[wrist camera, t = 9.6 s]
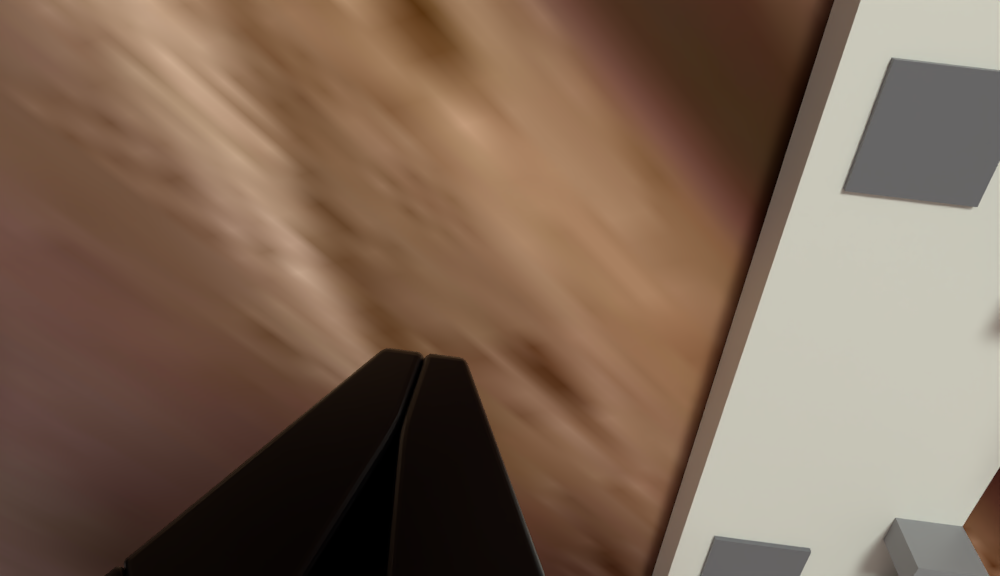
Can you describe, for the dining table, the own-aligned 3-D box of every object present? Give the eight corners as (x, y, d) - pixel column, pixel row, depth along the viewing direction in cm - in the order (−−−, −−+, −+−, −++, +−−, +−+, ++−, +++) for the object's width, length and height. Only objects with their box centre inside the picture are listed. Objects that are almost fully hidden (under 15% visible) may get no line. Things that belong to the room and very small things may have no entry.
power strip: (644, 598, 28) (652, 684, 25) (898, -204, 15) (975, -208, 12) (861, 626, 28) (893, 717, 25) (1318, -157, 14) (1496, -151, 12)
